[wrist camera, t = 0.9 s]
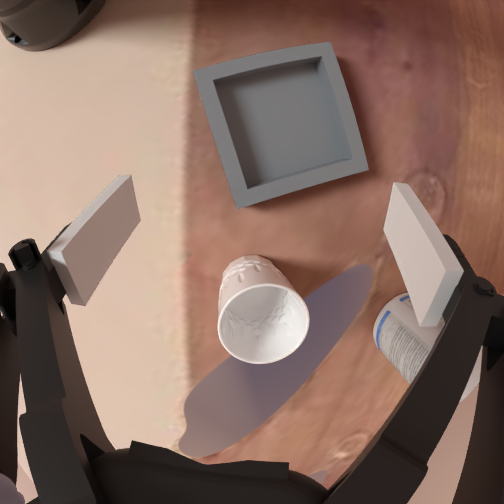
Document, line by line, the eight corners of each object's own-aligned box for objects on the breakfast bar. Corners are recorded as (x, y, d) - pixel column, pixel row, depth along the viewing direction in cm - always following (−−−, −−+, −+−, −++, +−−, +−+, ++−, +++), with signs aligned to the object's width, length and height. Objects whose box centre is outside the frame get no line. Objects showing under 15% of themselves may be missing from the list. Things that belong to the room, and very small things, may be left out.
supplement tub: (389, 360, 42) (440, 423, 28) (358, 326, 39) (414, 395, 25) (435, 314, 41) (497, 365, 27) (409, 275, 38) (482, 325, 24)
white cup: (266, 236, 35) (287, 267, 25) (295, 294, 37) (322, 338, 27) (202, 270, 35) (200, 311, 25) (236, 324, 37) (244, 376, 28)
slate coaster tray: (194, 81, 29) (192, 71, 25) (318, 52, 30) (330, 41, 26) (234, 203, 34) (237, 209, 30) (352, 168, 34) (368, 169, 30)
